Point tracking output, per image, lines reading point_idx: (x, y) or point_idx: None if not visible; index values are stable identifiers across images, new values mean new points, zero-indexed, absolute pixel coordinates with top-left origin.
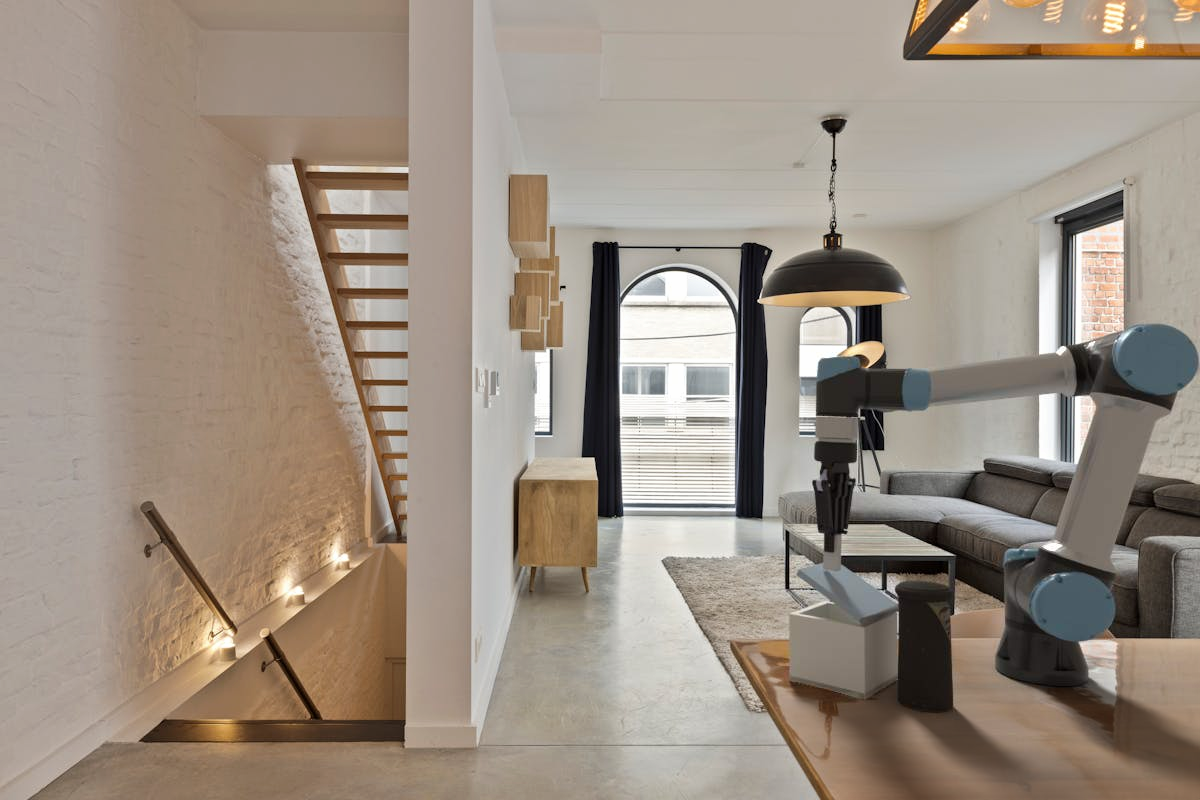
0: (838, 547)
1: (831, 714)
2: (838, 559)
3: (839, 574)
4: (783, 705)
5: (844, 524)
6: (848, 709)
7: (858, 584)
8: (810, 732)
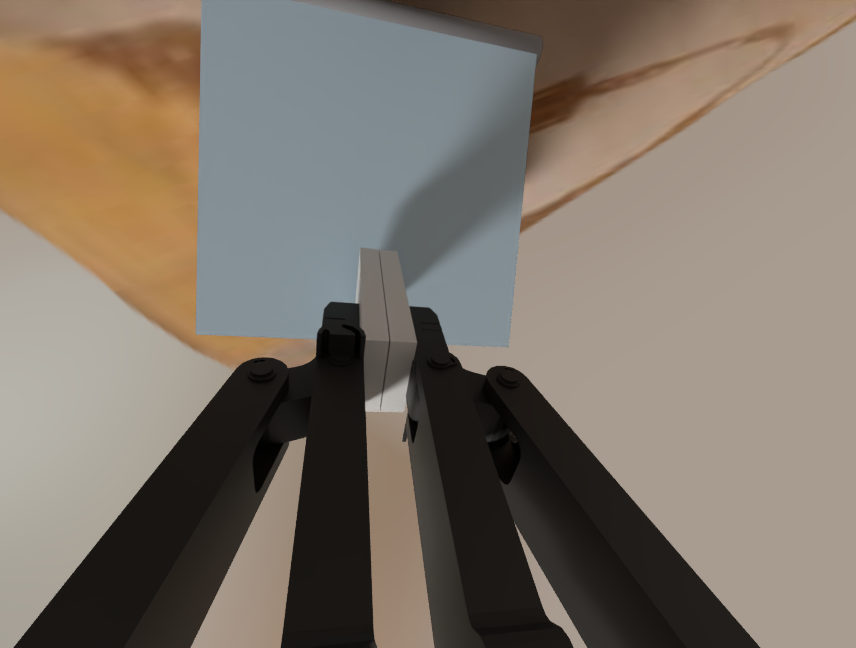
0: (395, 302)
1: (580, 89)
2: (388, 272)
3: (319, 254)
4: (566, 186)
5: (282, 390)
6: (540, 64)
7: (286, 169)
8: (680, 94)
